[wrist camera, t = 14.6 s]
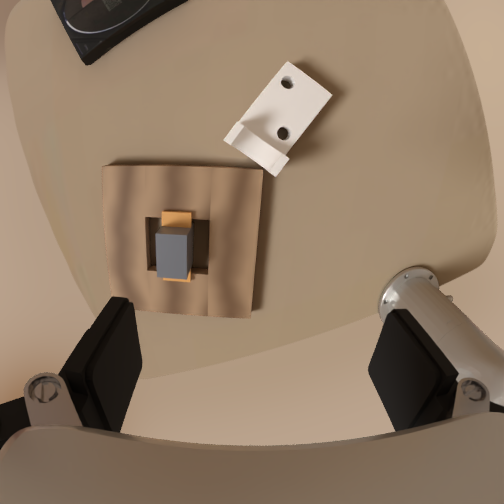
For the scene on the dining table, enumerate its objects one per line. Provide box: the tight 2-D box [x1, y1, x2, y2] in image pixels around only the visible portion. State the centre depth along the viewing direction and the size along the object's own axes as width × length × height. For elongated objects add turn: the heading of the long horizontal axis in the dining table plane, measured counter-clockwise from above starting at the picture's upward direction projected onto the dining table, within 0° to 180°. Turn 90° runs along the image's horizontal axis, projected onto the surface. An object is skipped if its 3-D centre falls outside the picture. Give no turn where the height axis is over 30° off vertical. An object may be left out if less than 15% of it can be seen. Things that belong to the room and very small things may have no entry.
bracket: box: [224, 61, 332, 177], centre depth 34 cm, size 13×7×8 cm, turn 144°
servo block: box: [156, 211, 194, 282], centre depth 40 cm, size 4×10×6 cm, turn 175°
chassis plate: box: [102, 164, 263, 318], centre depth 42 cm, size 22×22×2 cm
